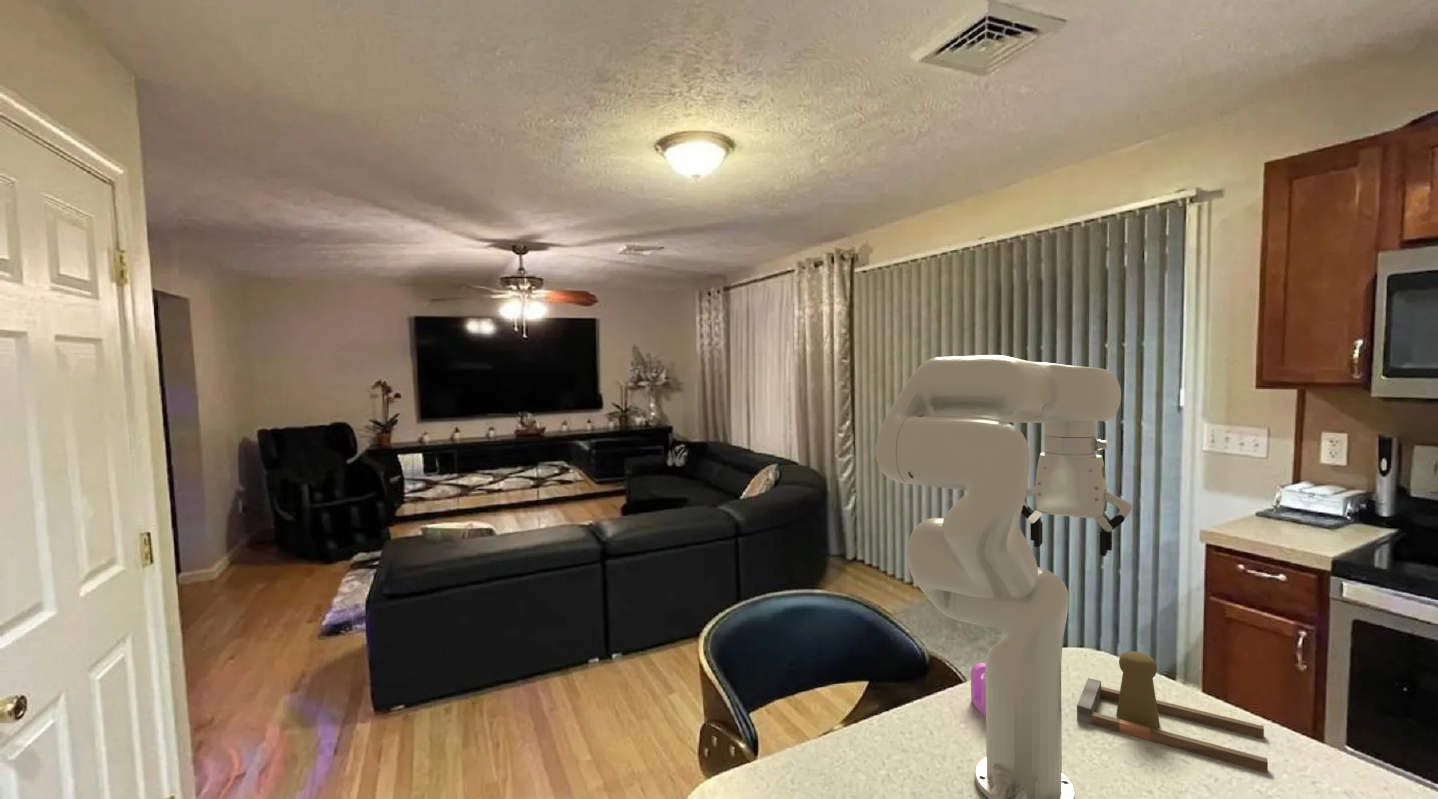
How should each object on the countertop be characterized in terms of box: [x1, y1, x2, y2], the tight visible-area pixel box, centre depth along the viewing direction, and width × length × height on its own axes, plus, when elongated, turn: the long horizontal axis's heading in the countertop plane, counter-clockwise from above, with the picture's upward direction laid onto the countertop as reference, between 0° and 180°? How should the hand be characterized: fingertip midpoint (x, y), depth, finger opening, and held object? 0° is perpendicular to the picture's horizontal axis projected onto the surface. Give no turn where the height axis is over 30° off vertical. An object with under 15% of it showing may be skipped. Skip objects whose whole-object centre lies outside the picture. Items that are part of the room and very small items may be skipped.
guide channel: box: [1076, 677, 1269, 773], centre depth 103 cm, size 11×24×2 cm, turn 52°
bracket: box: [970, 662, 986, 719], centre depth 110 cm, size 13×6×7 cm, turn 91°
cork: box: [1115, 650, 1161, 729], centre depth 105 cm, size 6×6×11 cm
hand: (1070, 549), depth 106 cm, fingers open, 9 cm apart
